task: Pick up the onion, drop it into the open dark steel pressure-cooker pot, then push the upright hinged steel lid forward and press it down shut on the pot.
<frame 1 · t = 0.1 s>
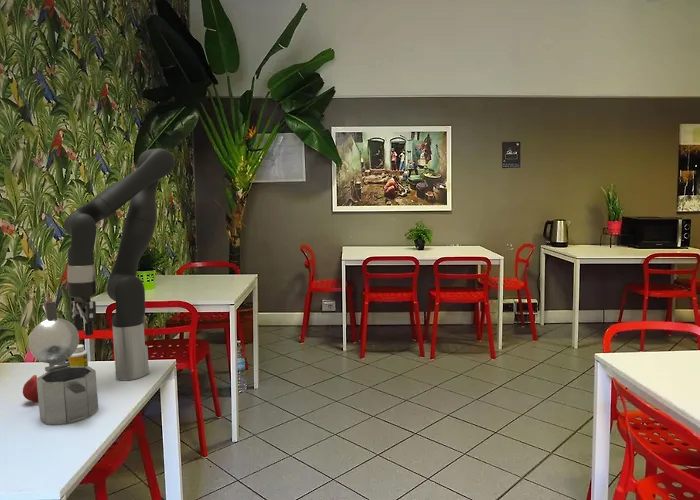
hand: (83, 332, 159), 17 cm above the table, tool pointing down, fingers open, 8 cm apart
lid: (53, 335, 146), point 20 cm above the table, hinge at 97.0°
pot: (69, 413, 142), on the table
onion: (35, 402, 150), on the table
supplement bottle: (79, 377, 170), on the table
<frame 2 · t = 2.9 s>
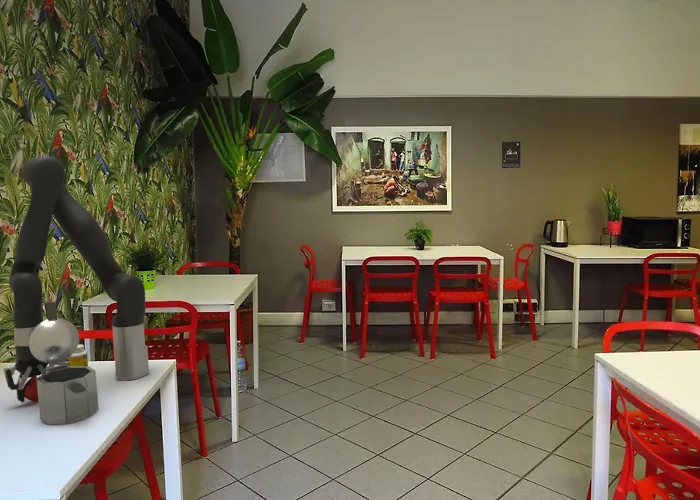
hand: (35, 398, 150), 1 cm above the table, tool pointing down, fingers closed on onion, 6 cm apart
onion: (35, 402, 150), on the table, touching gripper
everything else where it was.
when the fingers open (12 cm above the table, at t = 10.1 s): onion drops 9 cm, resting on pot.
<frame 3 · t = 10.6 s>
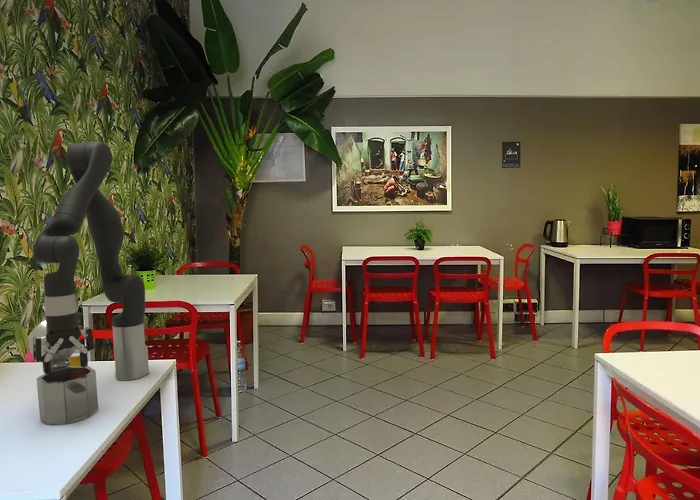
hand: (66, 370, 140), 12 cm above the table, tool pointing down, fingers open, 8 cm apart
onion: (68, 409, 142), point 1 cm above the table, touching pot
everything else where it was.
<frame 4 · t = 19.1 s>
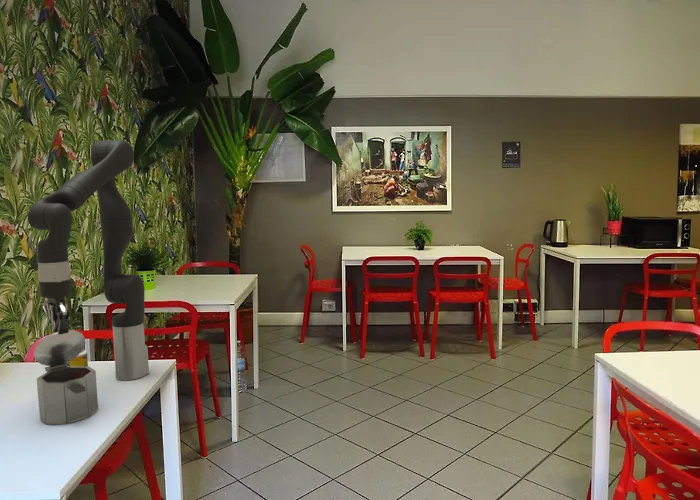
hand: (59, 341, 142), 20 cm above the table, tool pointing down, fingers closed
lid: (60, 342, 142), point 19 cm above the table, hinge at 57.6°, touching gripper
everything else where it was.
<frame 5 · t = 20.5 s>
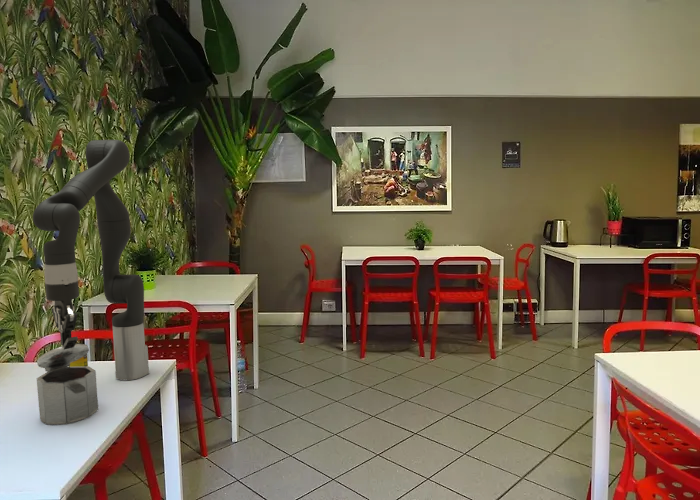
hand: (66, 345, 138), 20 cm above the table, tool pointing down, fingers closed
lid: (64, 352, 140), point 17 cm above the table, hinge at 36.5°, touching gripper
everything else where it was.
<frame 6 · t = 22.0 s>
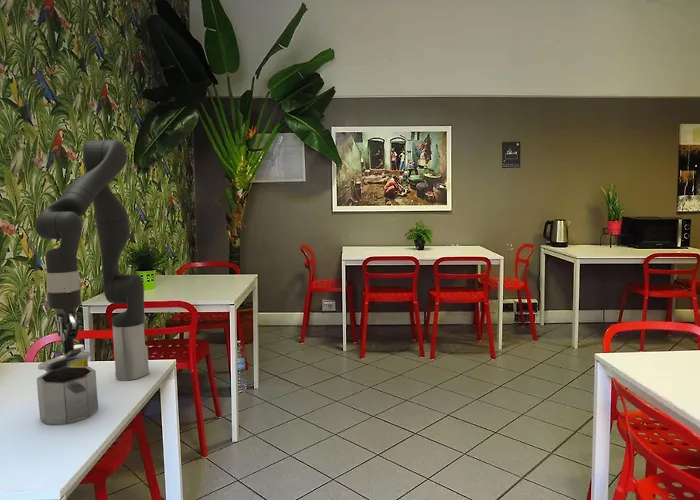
hand: (68, 353, 137), 17 cm above the table, tool pointing down, fingers closed
lid: (65, 357, 140), point 16 cm above the table, hinge at 25.8°, touching gripper
everything else where it was.
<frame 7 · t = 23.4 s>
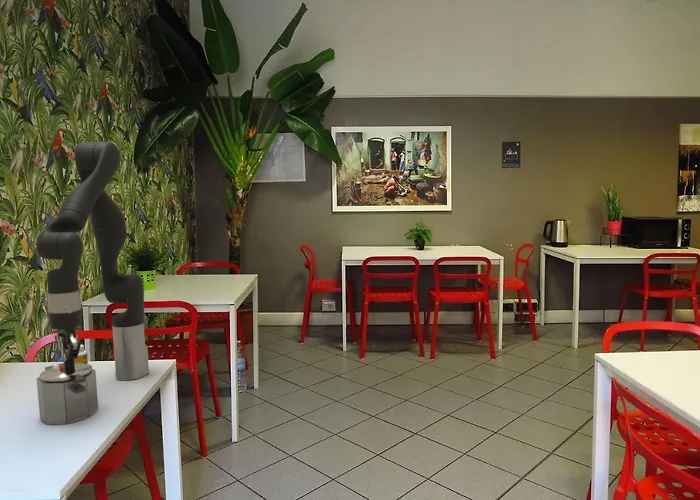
hand: (69, 373, 138), 12 cm above the table, tool pointing down, fingers closed
lid: (68, 371, 139), point 12 cm above the table, hinge at 1.3°, touching gripper
everything else where it was.
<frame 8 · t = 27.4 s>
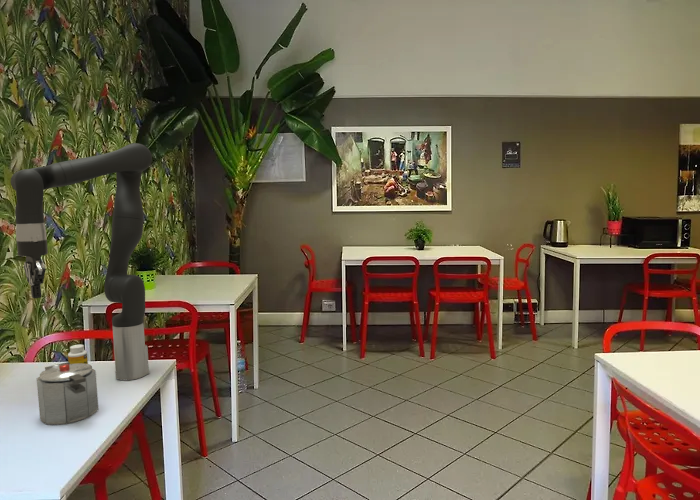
hand: (36, 297, 154), 29 cm above the table, tool pointing down, fingers closed
lid: (68, 371, 139), point 12 cm above the table, hinge at 1.2°
everything else where it was.
at the end: lid at +1° (first picture: +97°); onion inside the target area on the pot (0.2 cm from its centre), point 1.1 cm above the pot's base; the gripper is holding nothing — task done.
